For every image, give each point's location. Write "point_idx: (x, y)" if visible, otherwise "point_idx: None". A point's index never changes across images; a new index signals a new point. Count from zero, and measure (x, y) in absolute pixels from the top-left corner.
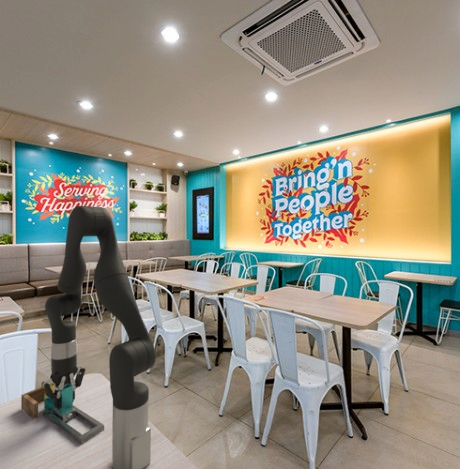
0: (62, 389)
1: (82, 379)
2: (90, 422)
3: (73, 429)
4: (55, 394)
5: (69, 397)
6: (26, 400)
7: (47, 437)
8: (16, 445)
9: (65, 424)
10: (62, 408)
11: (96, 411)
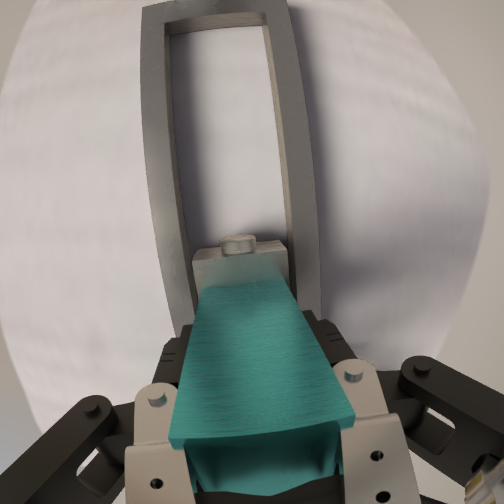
0: (344, 424)
1: (39, 439)
2: (168, 90)
3: (282, 82)
4: (389, 398)
5: (226, 338)
6: None
7: (377, 185)
8: (456, 243)
9: (297, 172)
10: (287, 296)
11: (89, 206)
